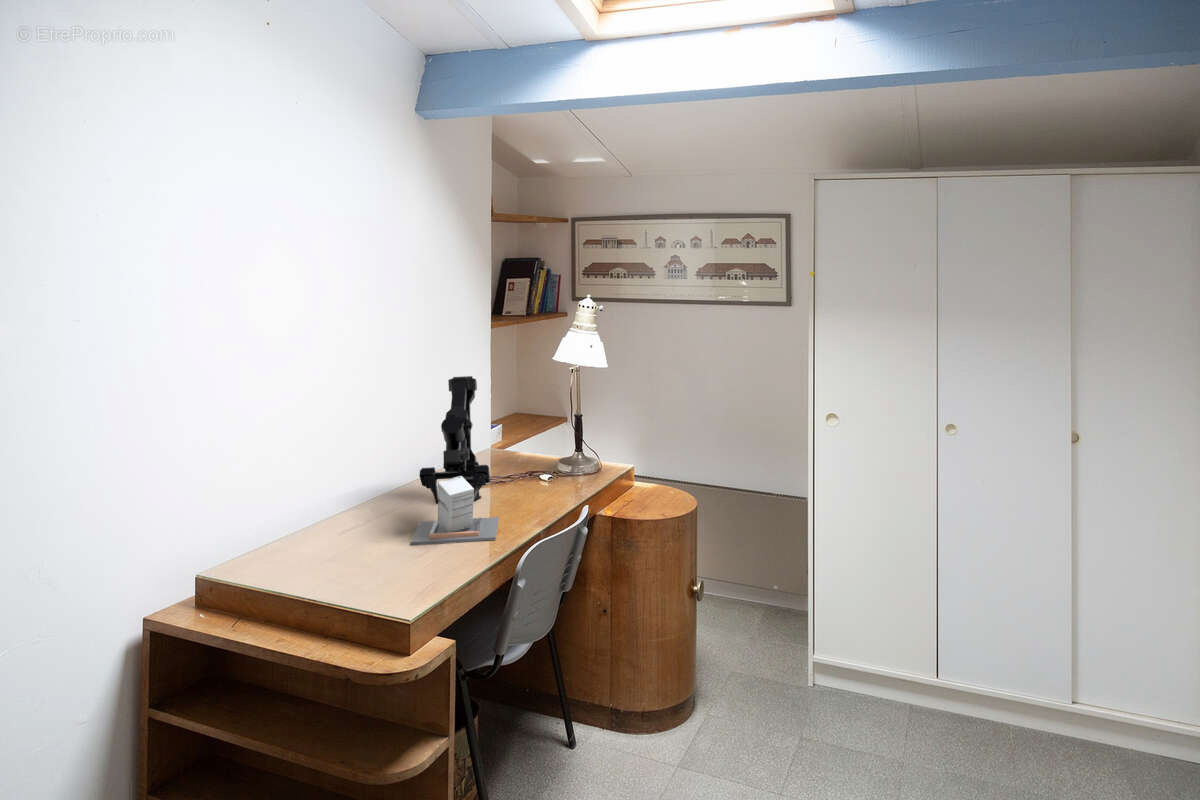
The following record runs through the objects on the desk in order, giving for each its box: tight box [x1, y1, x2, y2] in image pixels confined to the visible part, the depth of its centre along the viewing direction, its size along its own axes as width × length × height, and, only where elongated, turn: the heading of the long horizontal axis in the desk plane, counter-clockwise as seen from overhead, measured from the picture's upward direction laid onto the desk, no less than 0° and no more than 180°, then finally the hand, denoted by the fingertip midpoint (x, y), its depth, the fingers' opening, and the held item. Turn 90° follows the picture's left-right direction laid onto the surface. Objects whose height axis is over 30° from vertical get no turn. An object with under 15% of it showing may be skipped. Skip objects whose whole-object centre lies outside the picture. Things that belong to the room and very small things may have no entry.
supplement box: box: [437, 476, 475, 533], centre depth 213 cm, size 7×7×13 cm
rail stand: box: [410, 516, 500, 546], centre depth 216 cm, size 18×22×2 cm
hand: (454, 502), depth 213 cm, fingers closed on supplement box, 9 cm apart
